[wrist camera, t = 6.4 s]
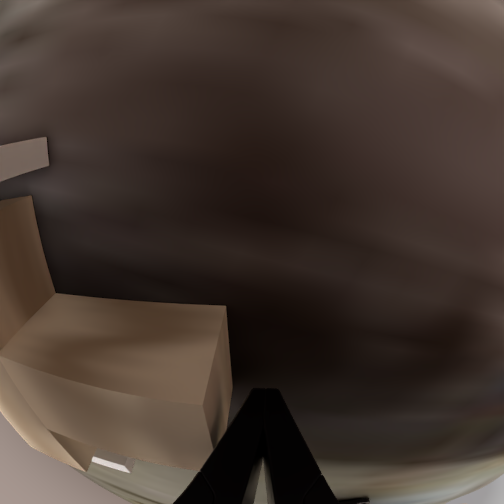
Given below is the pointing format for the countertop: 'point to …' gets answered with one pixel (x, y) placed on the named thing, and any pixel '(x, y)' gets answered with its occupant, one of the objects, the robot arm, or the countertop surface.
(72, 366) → the t block
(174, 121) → the countertop surface
